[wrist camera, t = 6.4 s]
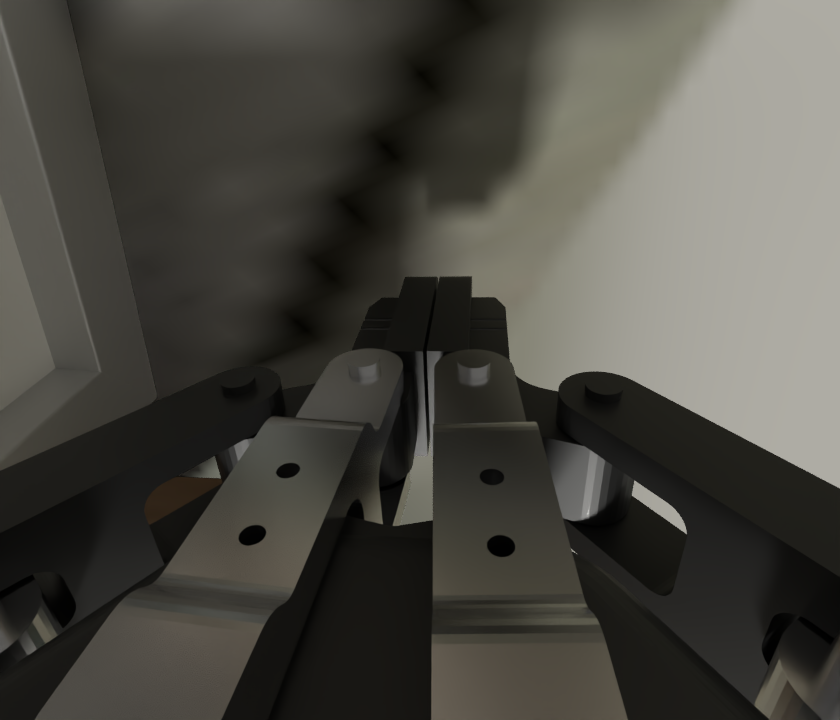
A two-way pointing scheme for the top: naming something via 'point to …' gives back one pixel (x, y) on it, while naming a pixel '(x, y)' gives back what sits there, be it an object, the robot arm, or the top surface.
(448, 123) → the top surface
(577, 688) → the robot arm
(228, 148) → the top surface
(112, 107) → the top surface
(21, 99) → the picture frame
